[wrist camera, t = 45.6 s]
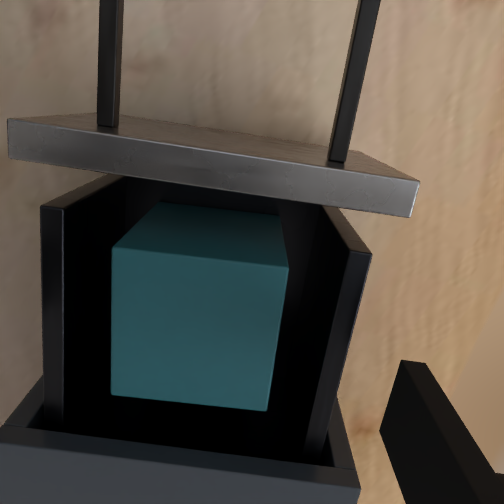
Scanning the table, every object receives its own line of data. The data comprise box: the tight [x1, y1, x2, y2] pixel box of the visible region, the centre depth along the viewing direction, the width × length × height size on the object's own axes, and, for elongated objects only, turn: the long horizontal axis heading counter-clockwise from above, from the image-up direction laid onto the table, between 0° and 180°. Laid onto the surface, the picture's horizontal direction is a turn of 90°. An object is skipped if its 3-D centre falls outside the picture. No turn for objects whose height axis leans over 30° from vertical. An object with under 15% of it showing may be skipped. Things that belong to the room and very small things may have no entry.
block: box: [111, 202, 289, 411], centre depth 19 cm, size 6×6×7 cm
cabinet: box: [0, 375, 361, 504], centre depth 23 cm, size 15×14×10 cm
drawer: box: [7, 0, 420, 465], centre depth 18 cm, size 20×13×8 cm, turn 172°
